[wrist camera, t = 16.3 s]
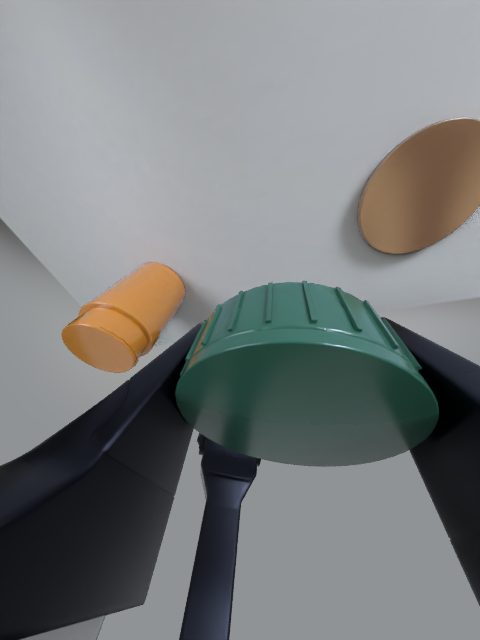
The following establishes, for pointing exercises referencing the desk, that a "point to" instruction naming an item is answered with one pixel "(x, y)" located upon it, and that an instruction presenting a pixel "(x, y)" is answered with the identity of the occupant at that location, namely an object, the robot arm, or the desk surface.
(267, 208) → the desk surface
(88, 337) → the honey jar
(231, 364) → the jar lid
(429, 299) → the desk surface
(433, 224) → the coaster
